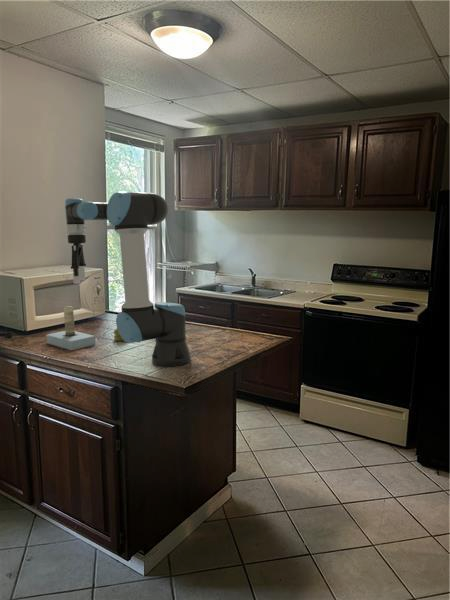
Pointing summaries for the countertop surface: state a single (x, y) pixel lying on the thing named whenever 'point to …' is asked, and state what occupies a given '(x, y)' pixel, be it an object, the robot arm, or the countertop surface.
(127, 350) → the countertop surface
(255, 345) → the countertop surface
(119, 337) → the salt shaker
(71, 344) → the slate board
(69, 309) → the beech peg
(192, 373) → the countertop surface
